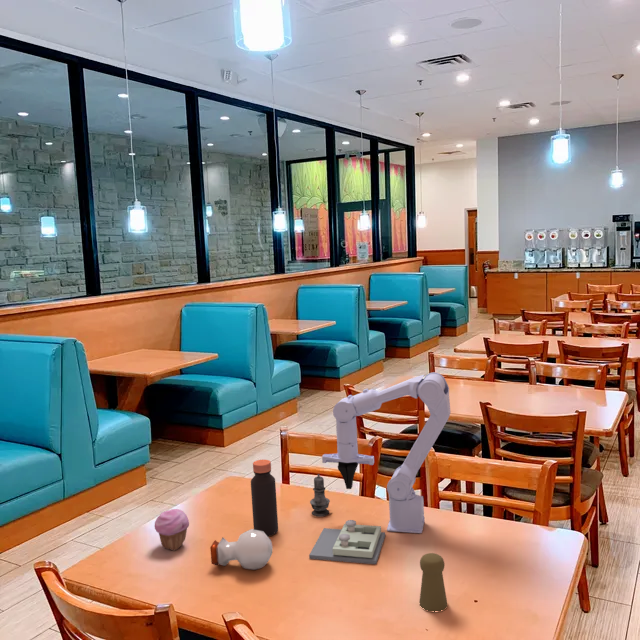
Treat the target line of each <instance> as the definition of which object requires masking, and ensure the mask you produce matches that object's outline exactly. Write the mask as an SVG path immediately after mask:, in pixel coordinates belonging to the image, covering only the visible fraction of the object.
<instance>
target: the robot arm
mask: <svg viewBox="0 0 640 640" xmlns="http://www.w3.org/2000/svg"><path fill="white" fill-rule="evenodd" d="M405 396H409V397H411V398H414V399H418V398H419V399H420V400H421V401H422V402H423V404H425V405H426V407H427V409H428V412H429V414H430V415H429V418H428V419H427V421H426V422H425V424H424V426H423V428H422V430H421V431H420V433H419V435H418V436H417V439H416V440H415V442H414V443H413V445H412V447H411V449H410V451H408V452H409V453H408V454H407V456H406V458H405V459H404V461H403V463H402V464H401V465H400V466H398V467H397V468H396V469H395V470H394V472H393V475H392V477H391V479H389V480H388V482H387V485H386V489H387V493H388V507H389V509H388V510H389V522H388V524H387V527H386V531H387V532H397V533H398V532H399V533H408V534H409V533H411V534H422V533H423V529H424V524H425V508H424V506H425V504H424V502H425V501H424V496H423V495H418V494H416V492H415V489H414V488H413V486H414V485H415V483H416V479H417V477H416V476H417V474H418V472H419V470H420V468H421V466H422V465H423V463H424V462H425V460H426V458H427V456H428V455H429V453H430V451H431V450H432V448H433V446H434V445H435V442H436V441H437V439H438V437H439V436H440V434H441V433H442V430H443V429H444V427H445V425H446V423H447V421H449V418H450V415H451V412H452V411H451V402H450V387H449V384H448V383H447V381H446V378H445V377H444V376H443V374H441V373H440V372H439V373H438V372H435V371H434V372H429V373H428V374H426V375H425V374H422V375H418V376H414V377H411V378H409V379H407V380H404V381H401V382H399V383H396V384H394V385H391V386H389V387H386V388H384V389H382V390H380V391H379V390H376V389H374V388H371V389H369V388H368V387H366V388H364V389H363V390H362V392H360V393H357V394H355V395H352V394H349V395H348V396H347V397H343V398H341V399H340V400H339V401H338V402H337V403H336V404H335V405H334V406H333V408H332V414H333V417H334V419H335V423H336V424H335V425H336V426H335V430H336V446H337V452H336V453H324V454H322V456H321V460H322V461H321V462H322V464H326V463H336V464H337V469H338V472H339V473H340V475H341V476H342V479H343V482H344V485H345V488H346V490H351V489H352V488H353V486H354V485H353V483H354V478H355V474H356V471H357V468H358V465H360V464H363V465H369V466H373V465H374V464H375V456H374V455H367V454H361V453H359V451H358V450H359V449H358V428H357V427H358V426H357V425H358V424H357V417H359V416H363V415H365V414H369V413H372V412H374V411H377V410H379V409H381V407H382V404H384V403H387V402H390V401H392V400H395V399H398V398H403V397H405Z"/></svg>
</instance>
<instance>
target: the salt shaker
mask: <svg viewBox="0 0 640 640" xmlns="http://www.w3.org/2000/svg"><path fill="white" fill-rule="evenodd" d="M313 486H314V487H313V488H312V490H313V492H314V494H313V496H314V497H313V498H312V499H310V500H309V504H310V505H311V508H312V509H313V510H312V511H311V515H312V517H313V516H314V517H318V518H321V517H322V518H323V517H326V516H328V515H329V514H330V511H329V509H328V508H329V506H330V502H331V500H330V499H329V498H327V497H326V494H325V493H326V492H325V490H326V487H325V479H324V477H322V476H320V473H318V474H317V476H315V477H314V479H313Z"/></svg>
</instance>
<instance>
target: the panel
mask: <svg viewBox="0 0 640 640" xmlns="http://www.w3.org/2000/svg"><path fill="white" fill-rule="evenodd" d="M354 528H355V532H350V531H348V526H346V523H343V526H342V528H341V529H342V530H341V532H340V534H339V535H341V534H349V535H350V539H349V540H348V546H341V540H339V536H338V538H337V540H336V542H335V545H334V547H333V555H342V556H354V557H366V558H372V557H373V554H374V551H375V549H376V546H377V543H378V540H379V537H380V534H381V532H382V525H381V526H380V525H367V524H356V526H354ZM364 533H375V534H374V535H372V534H364ZM358 547H367V548H369V550H368V549H356V548H358Z"/></svg>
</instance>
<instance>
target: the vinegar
mask: <svg viewBox="0 0 640 640" xmlns="http://www.w3.org/2000/svg"><path fill="white" fill-rule="evenodd" d="M252 470H253V474H254V476H253V477H252V478H251V480H250V490H251V491H250V493H251V495H250V496H251V508H252V521H253V523H252V524H253V529H255V530H260V531H264V533H265V534H266V535H267V536H268V537H272V536H274V535H276V534H277V533H278V532H279V523H278V522H279V520H278V519H279V518H278V504H277V503H278V501H277V490H276V489H277V488H276V478H275V477H274V476H273V475H272V474H271V472H272V463H271V460H269V459H258V460H255V461H253V462H252Z"/></svg>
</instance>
